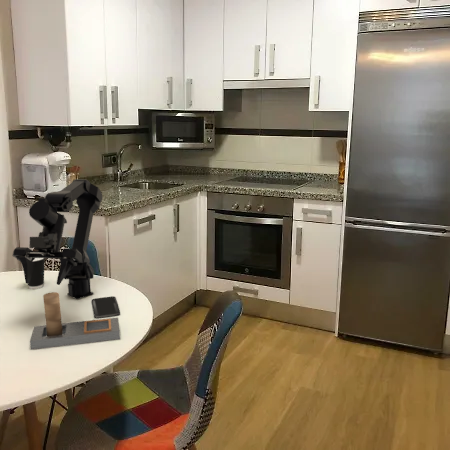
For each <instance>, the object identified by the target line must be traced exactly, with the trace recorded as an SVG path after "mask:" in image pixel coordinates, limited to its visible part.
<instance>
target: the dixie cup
mask: <svg viewBox="0 0 450 450" xmlns="http://www.w3.org/2000/svg"><path fill="white" fill-rule="evenodd" d="M45 259H46V258H35V259H34V260H33V261H32V262H34V263H35V264H34V268H33V271H32V275H31V279H30V282H29V284H27V286H28V289H30V290H37V289H41V288H43V287H44V284H45Z"/></svg>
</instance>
